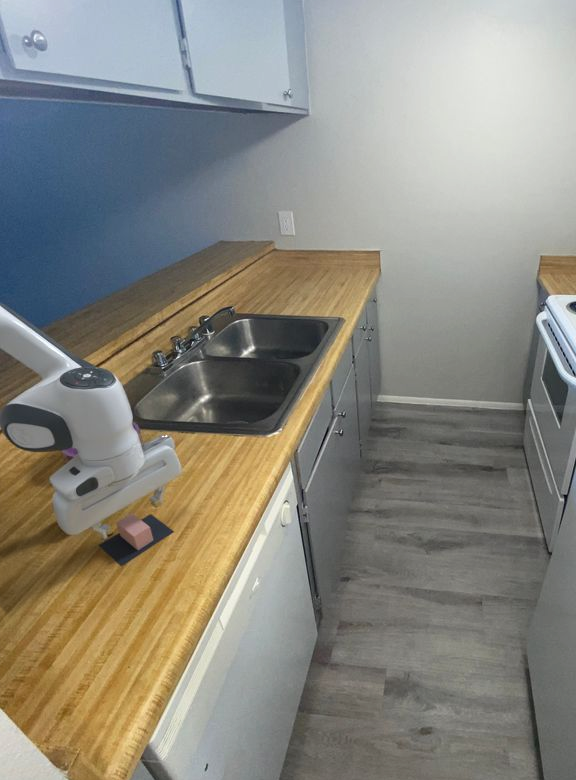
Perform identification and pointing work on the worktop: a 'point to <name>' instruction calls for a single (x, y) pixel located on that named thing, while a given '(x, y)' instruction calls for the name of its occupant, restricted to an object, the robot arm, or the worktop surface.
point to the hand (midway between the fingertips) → (133, 519)
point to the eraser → (134, 531)
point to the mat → (125, 551)
